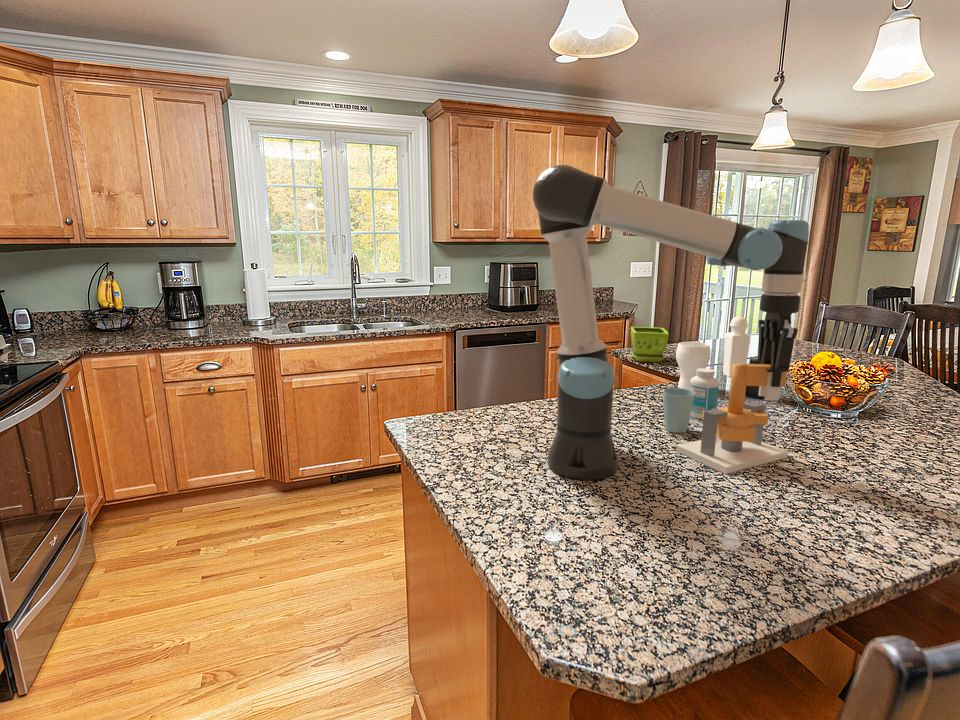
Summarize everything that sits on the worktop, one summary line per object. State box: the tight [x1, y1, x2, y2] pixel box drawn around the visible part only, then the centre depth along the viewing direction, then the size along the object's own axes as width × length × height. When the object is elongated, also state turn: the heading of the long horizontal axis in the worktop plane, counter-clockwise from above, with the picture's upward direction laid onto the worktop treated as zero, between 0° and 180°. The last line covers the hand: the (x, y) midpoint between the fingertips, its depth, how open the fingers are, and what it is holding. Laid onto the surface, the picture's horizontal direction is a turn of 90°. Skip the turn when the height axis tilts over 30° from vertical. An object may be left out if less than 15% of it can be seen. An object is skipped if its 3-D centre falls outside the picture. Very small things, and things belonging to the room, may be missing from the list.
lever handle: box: [701, 363, 788, 442], centre depth 121 cm, size 8×16×17 cm, turn 83°
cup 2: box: [675, 341, 712, 390], centre depth 178 cm, size 11×11×15 cm
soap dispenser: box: [722, 315, 752, 378], centre depth 193 cm, size 6×6×22 cm
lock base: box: [675, 401, 789, 475], centre depth 123 cm, size 20×14×11 cm
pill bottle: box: [690, 367, 720, 420], centre depth 150 cm, size 8×7×14 cm
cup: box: [662, 387, 695, 434], centre depth 139 cm, size 8×8×10 cm
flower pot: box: [630, 326, 670, 363], centre depth 221 cm, size 14×14×13 cm
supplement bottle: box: [745, 357, 765, 399], centre depth 169 cm, size 7×7×12 cm
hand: (768, 397), depth 120 cm, fingers closed on lever handle, 2 cm apart
